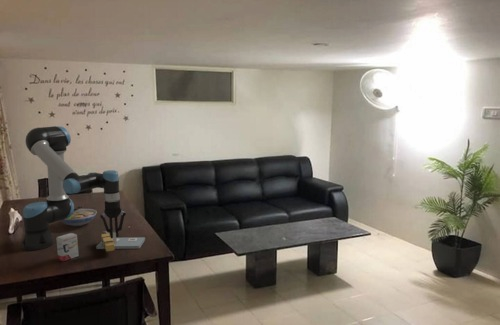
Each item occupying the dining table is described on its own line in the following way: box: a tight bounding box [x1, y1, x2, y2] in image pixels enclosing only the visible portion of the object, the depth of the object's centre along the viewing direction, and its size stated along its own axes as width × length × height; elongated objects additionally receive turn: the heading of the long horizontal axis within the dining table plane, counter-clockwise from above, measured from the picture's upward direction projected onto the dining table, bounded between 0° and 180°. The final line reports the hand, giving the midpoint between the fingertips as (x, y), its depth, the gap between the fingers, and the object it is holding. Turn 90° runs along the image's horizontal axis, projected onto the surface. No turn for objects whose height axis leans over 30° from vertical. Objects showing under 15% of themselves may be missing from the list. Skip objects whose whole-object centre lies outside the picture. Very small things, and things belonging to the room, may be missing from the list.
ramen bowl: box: [60, 206, 98, 227], centre depth 247 cm, size 25×23×8 cm
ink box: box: [55, 232, 79, 262], centre depth 195 cm, size 9×5×12 cm, turn 146°
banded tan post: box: [100, 230, 115, 252], centre depth 207 cm, size 22×4×5 cm, turn 27°
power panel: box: [95, 236, 146, 250], centre depth 214 cm, size 23×13×2 cm, turn 92°
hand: (114, 243), depth 203 cm, fingers closed
